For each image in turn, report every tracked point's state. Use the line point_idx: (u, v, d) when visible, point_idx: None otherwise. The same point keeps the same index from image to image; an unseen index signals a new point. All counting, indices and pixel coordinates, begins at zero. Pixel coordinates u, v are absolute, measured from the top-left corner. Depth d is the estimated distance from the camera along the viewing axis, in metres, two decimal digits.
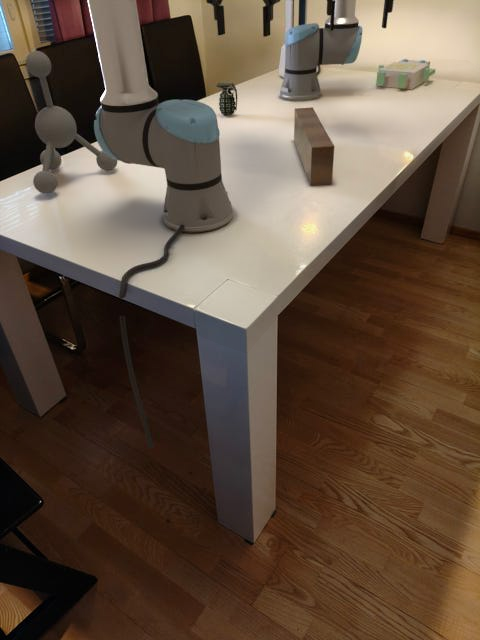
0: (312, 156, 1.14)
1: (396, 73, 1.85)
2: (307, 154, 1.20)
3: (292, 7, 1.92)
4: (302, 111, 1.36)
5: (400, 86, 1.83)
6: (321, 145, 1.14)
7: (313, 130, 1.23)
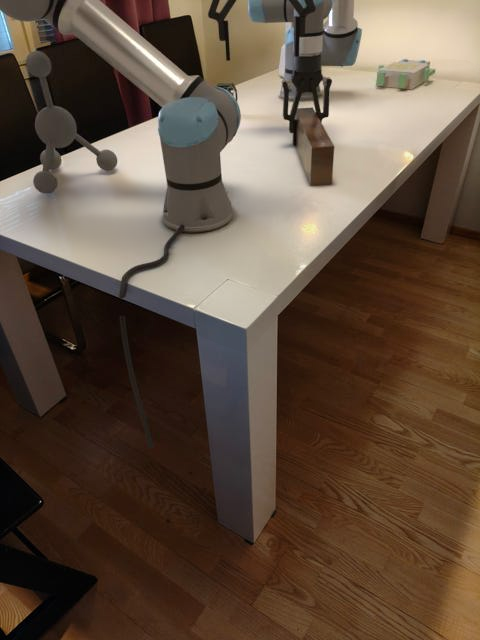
0: (312, 156, 1.14)
1: (396, 73, 1.85)
2: (307, 154, 1.20)
3: None
4: (302, 111, 1.36)
5: (400, 86, 1.83)
6: (321, 145, 1.14)
7: (313, 130, 1.23)
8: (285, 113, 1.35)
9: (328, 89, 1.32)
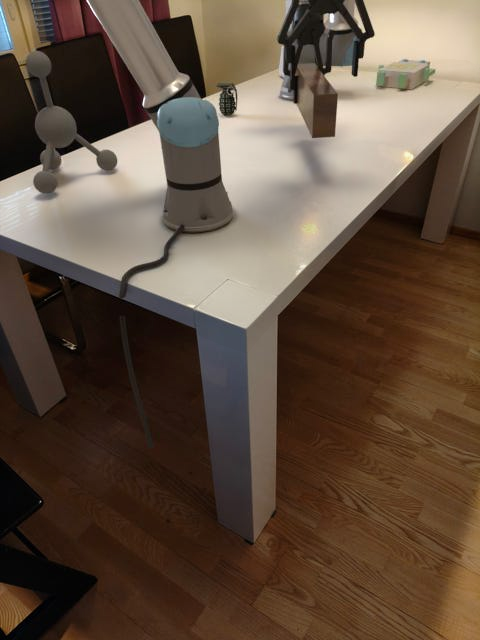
0: (314, 105, 1.07)
1: (396, 73, 1.85)
2: (309, 105, 1.13)
3: None
4: (303, 66, 1.30)
5: (400, 86, 1.83)
6: (324, 93, 1.07)
7: (315, 81, 1.16)
8: (285, 68, 1.28)
9: (331, 41, 1.25)
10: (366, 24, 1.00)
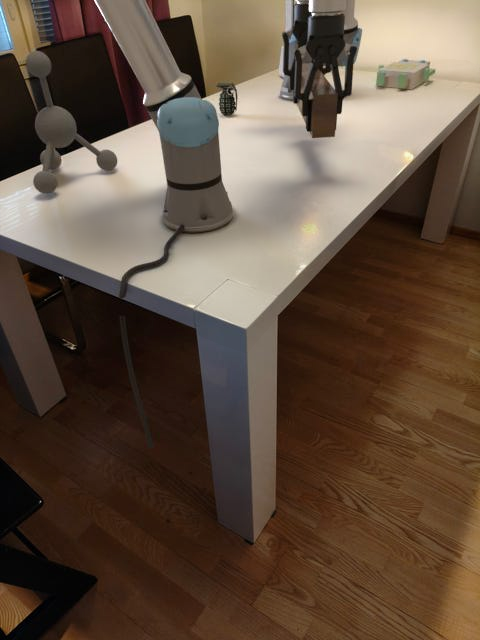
0: (314, 105, 1.07)
1: (396, 73, 1.85)
2: None
3: (292, 7, 1.92)
4: (303, 66, 1.30)
5: (400, 86, 1.83)
6: (324, 93, 1.07)
7: (315, 81, 1.16)
8: (285, 68, 1.28)
9: None
10: (348, 82, 1.07)
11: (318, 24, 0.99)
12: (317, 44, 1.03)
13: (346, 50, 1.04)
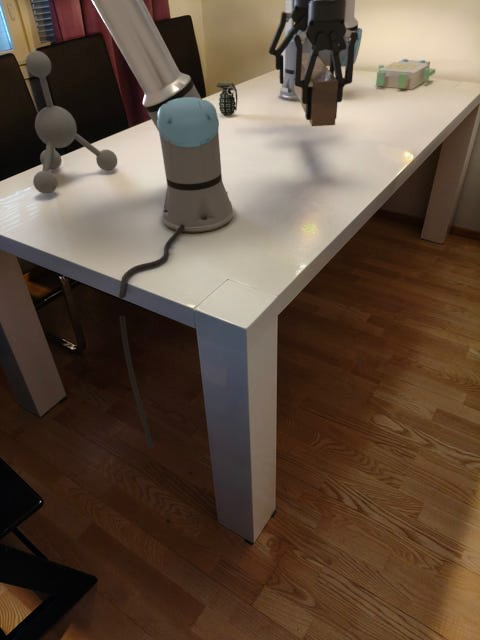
0: (314, 92, 1.06)
1: (396, 73, 1.85)
2: None
3: (292, 7, 1.92)
4: (303, 55, 1.28)
5: (400, 86, 1.83)
6: (324, 80, 1.05)
7: (315, 69, 1.14)
8: (273, 47, 1.26)
9: None
10: (348, 69, 1.06)
11: (319, 9, 0.97)
12: (317, 30, 1.01)
13: (347, 36, 1.02)
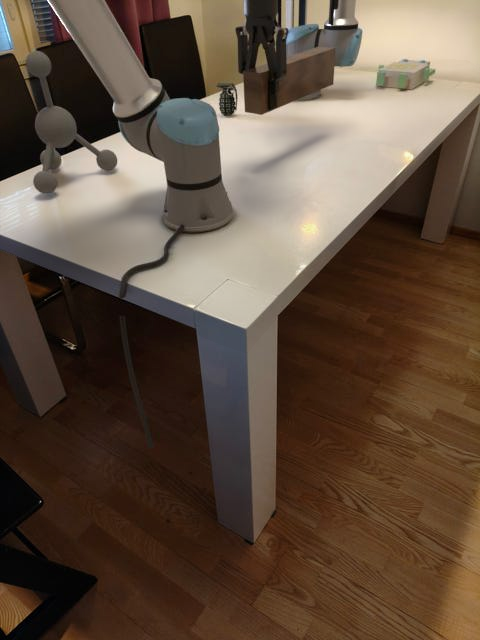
0: (244, 81, 1.16)
1: (396, 73, 1.85)
2: None
3: (292, 7, 1.92)
4: (317, 49, 1.31)
5: (400, 86, 1.83)
6: (254, 71, 1.14)
7: None
8: None
9: None
10: (277, 64, 1.11)
11: (244, 4, 1.07)
12: (251, 23, 1.10)
13: (276, 32, 1.08)
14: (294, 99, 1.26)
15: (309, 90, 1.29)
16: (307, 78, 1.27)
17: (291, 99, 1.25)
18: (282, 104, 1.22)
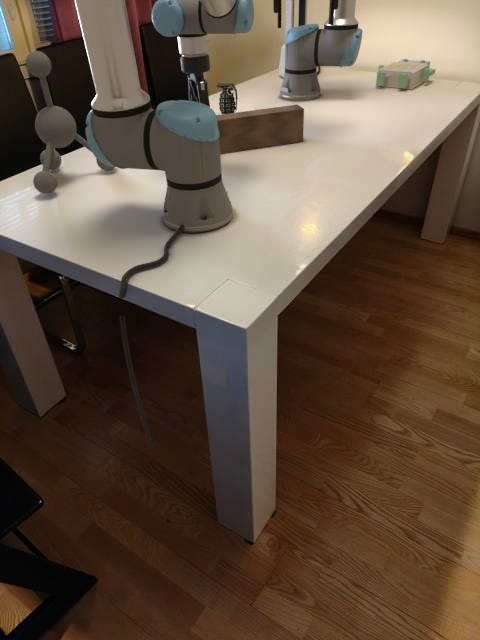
0: None
1: (396, 73, 1.85)
2: None
3: (292, 7, 1.92)
4: (287, 107, 1.40)
5: (400, 86, 1.83)
6: None
7: (230, 115, 1.37)
8: None
9: None
10: None
11: None
12: (191, 76, 1.29)
13: None
14: (240, 149, 1.40)
15: (262, 144, 1.41)
16: (258, 133, 1.39)
17: (234, 148, 1.40)
18: (221, 152, 1.39)
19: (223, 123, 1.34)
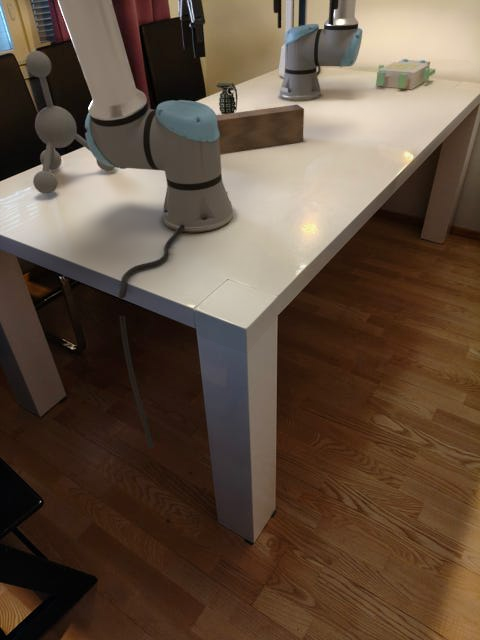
0: None
1: (396, 73, 1.85)
2: None
3: (292, 7, 1.92)
4: (287, 107, 1.40)
5: (400, 86, 1.83)
6: None
7: (230, 115, 1.37)
8: None
9: None
10: (192, 11, 1.12)
11: None
12: None
13: None
14: (240, 149, 1.40)
15: (262, 144, 1.41)
16: (258, 133, 1.39)
17: (234, 148, 1.40)
18: (221, 152, 1.39)
19: (223, 123, 1.34)
